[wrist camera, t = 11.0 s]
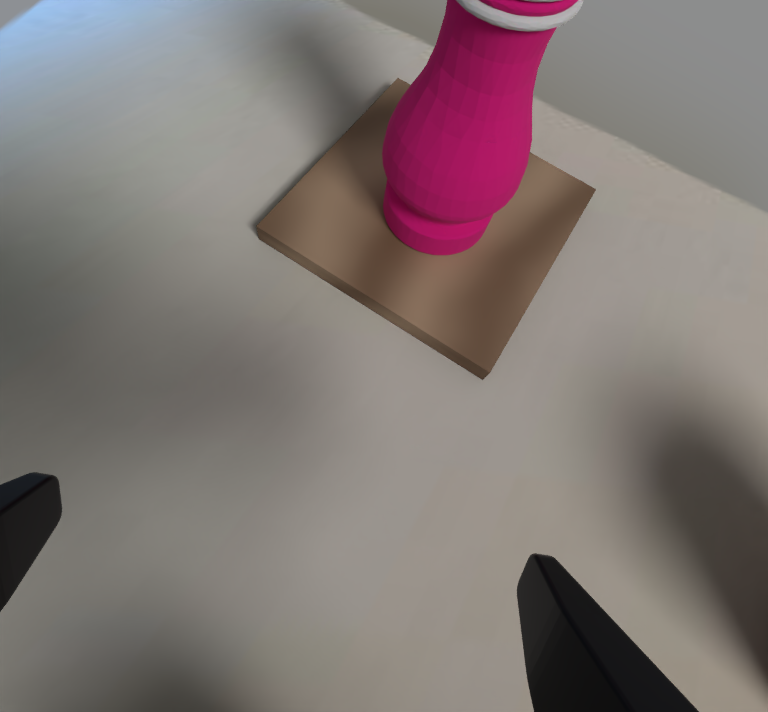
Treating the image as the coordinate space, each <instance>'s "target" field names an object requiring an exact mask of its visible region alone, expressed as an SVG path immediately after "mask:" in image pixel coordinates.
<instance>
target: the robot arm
mask: <svg viewBox="0 0 768 712" xmlns="http://www.w3.org/2000/svg"><path fill="white" fill-rule="evenodd" d="M61 514H62V504H61V495H60V487H59V480H58V479H57V477H56V476H54V475H49V474H43V473H37V472H33V473H29V474H26V475H23V476H21V477H18V478H16V479H13V480H11V481H9V482H6V483H4V484H1V485H0V612H1V610H2V609H3V607H4V606H5V605H6V603H7V602H8V601H9V599H10V598H11V596H12V595H13V593H14V592H15V590H16V589H17V587H18V585H19V584H20V582H21V581H22V579H23V578H24V576H25V574H26V573H27V571H28V570H29V568H30V567H31V565H32V563H33V562H34V560H35V559H36V557H37V556H38V554H39V553H40V551H41V549H42V548H43V546H44V545H45V543H46V542H47V540H48V538H49V537H50V535H51V534H52V532H53V531H54V529H55V527H56V526H57V524H58V522H59V520H60V518H61ZM517 599H518V607H519V616H520V624H521V632H522V641H523V649H524V657H525V666H526V673H527V680H528V685H529V690H530V695H531V699H532V704H533V708H534V712H699V711H698V710H697V709H696V708H695V707H694V706H693V705H692V704H691V703H690V702H689V701H688V699H687V698H686V697H685V696H684V695H683V694H682V693H681V692H680V691H679V690H678V689H677V688H676V687H675V686H674V685H673V683H672V682H671V681H670V680H669V679H668V678H667V677H666V676H665V675H664V674H663V673H662V672H661V671H660V670H659V669H658V667H657V666H656V665H655V664H654V663H653V662H652V661H651V660H650V659H649V658H648V657H647V656H646V655H645V654H644V653H643V651H642V650H641V649H640V648H639V647H638V646H637V645H636V644H635V643H634V642H633V641H632V640H631V639H630V638H629V637H628V635H627V634H626V633H625V632H624V631H623V630H622V629H621V628H620V627H619V626H618V625H617V624H616V623H615V622H614V621H613V619H612V618H611V617H610V616H609V615H608V614H607V613H606V612H605V611H604V610H603V609H602V608H601V607H600V606H599V605H598V604H597V602H596V601H595V600H594V599H593V598H592V597H591V596H590V595H589V594H588V593H587V592H586V591H585V590H584V589H583V588H582V586H581V585H580V584H579V583H578V582H577V581H576V580H575V579H574V578H573V577H572V576H571V575H570V574H569V573H568V572H567V570H566V569H565V568H564V567H563V566H562V565H561V564H560V563H559V562H558V561H557V560H556V559H555V558H554V557H552V556H548V555H542V554H536V553H535V554H532V555H530V557H529V558H528V561H527V563H526V565H525V568H524V570H523V572H522V575H521V577H520V579H519V582H518V586H517Z"/></svg>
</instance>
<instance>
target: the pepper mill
mask: <svg viewBox="0 0 768 712" xmlns="http://www.w3.org/2000/svg"><path fill="white" fill-rule="evenodd" d="M582 3H583V0H447V6H446V12H445V16H444V20H443V23H442V26H441V30H440V33H439V37H438V40H437V43H436V46H435V48H434V50H433V52H432V54H431V56H430V58H429V61H428V63H427V65H426V66H425V68H424V69H423V71H422V72H421V73H420V75H419V76H418V77H417V78H416V79H415V81H414V82H413V83H412V84H411V85H410V87H409V88H408V89H407V91H406V92H405V93H404V95H403V96H402V98H401V99H400V101H399V102H398V104H397V106H396V108H395V110H394V112H393V114H392V116H391V118H390V120H389V123H388V126H387V130H386V134H385V138H384V142H383V149H382V159H383V167H384V171H385V174H386V177H387V183H386V189H385V194H384V201H383V211H384V215H385V218H386V222H387V224H388V226H389V227H390V229H391V230H392V232H393V233H394V234H395V235H396V236H397V237H398V238H399V239H400V240H401V241H402V242H403V243H404V244H406V245H408V246H410V247H411V248H413V249H415V250H417V251H419V252H423V253H426V254H431V255H452V254H457V253H460V252H463V251H465V250H467V249H469V248H470V247H472V246H473V245H474V244H476V243H477V242H478V241H479V239H480V238H481V237H482V235H483V234H484V232H485V230H486V228H487V226H488V224H489V222H490V220H491V218H492V216H493V214H494V213H496V212H497V211H499V210H500V209H501V208H503V207H504V206H505V205H506V204H507V203H508V202H509V201H510V200H511V198H512V197H513V196H514V194H515V193H516V191H517V189H518V187H519V185H520V183H521V180H522V178H523V175H524V173H525V170H526V167H527V165H528V159H529V153H530V147H531V142H532V100H533V89H534V85H535V80H536V75H537V70H538V67H539V64H540V62H541V59H542V56H543V54H544V51H545V49H546V46H547V44H548V42H549V40H550V38H551V37H552V35H553V33H554V31H555V29H556V28H557V27H558V26H561V25H563V24H565V23H566V22H568V21H569V20H571V18H573V17H574V16H575V15H576V14H577V12H578V11H579V9H580V7H581V5H582Z"/></svg>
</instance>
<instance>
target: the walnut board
mask: <svg viewBox="0 0 768 712" xmlns="http://www.w3.org/2000/svg"><path fill="white" fill-rule="evenodd" d="M409 87H410V84H408V83H406V82H404V81H403V80H401V79H399V78H397V79H396V81H395V82H394V83H393V84H392V85H391V86H390V87H389V88H388V89H387V90H386V91H385V92H384V93H383V94H382V95H381V96H380V97H379V98H378V99H377V100H376V101H375V102H374V104H373V105H372V106H371V107H370V108H369V109H368V110H367V111H366V112H365V113H364V114H363V115H362V116H361V117H360V118H359V119H358V120H357V121H356V122H355V123H354V124H353V126H352V127H351V128H350V129H349V130H348V131H347V132H346V133H345V134H344V135H343V136H342V137H341V138H340V139H339V140H338V141H337V142H336V143H335V144H334V145H333V146H332V147H331V149H330V150H329V151H328V152H327V153H326V154H325V155H324V156H323V157H322V158H321V159H320V160H319V161H318V162H317V163H316V164H315V165H314V166H313V167H312V168H311V169H310V170H309V172H308V173H307V174H306V175H305V176H304V177H303V178H302V179H301V180H300V181H299V182H298V183H297V184H296V185H295V186H294V187H293V188H292V189H291V190H290V191H289V192H288V194H287V195H286V196H285V197H284V198H283V199H282V200H281V201H280V202H279V203H278V204H277V205H276V206H275V207H274V208H273V209H272V210H271V211H270V212H269V213H268V214H267V215H266V217H265V218H264V219H263V220H262V221H261V222H260V223H259V224H258V225H257V226H256V227H257V232H258V236H259V239H260V240H261V241H263V242H265V243H266V244H268V245H269V246H271V247H273V248H274V249H276V250H277V251H279V252H280V253H282V254H284V255H285V256H287V257H288V258H290V259H292V260H293V261H295V262H296V263H298V264H300V265H301V266H303V267H304V268H306V269H307V270H309V271H311V272H312V273H314V274H315V275H317V276H319V277H320V278H322V279H323V280H325V281H327V282H328V283H330V284H331V285H333V286H334V287H336V288H338V289H339V290H341V291H342V292H344V293H346V294H347V295H349V296H350V297H352V298H354V299H355V300H357V301H358V302H360V303H362V304H363V305H365V306H366V307H368V308H369V309H371V310H373V311H374V312H376V313H377V314H379V315H381V316H382V317H384V318H385V319H387V320H389V321H390V322H392V323H393V324H395V325H396V326H398V327H400V328H401V329H403V330H404V331H406V332H408V333H409V334H411V335H412V336H414V337H416V338H417V339H419V340H420V341H422V342H423V343H425V344H427V345H428V346H430V347H431V348H433V349H435V350H436V351H438V352H439V353H441V354H443V355H444V356H446V357H447V358H449V359H450V360H452V361H454V362H455V363H457V364H458V365H460V366H462V367H463V368H465V369H466V370H468V371H470V372H471V373H473V374H474V375H476V376H477V377H479V378H481V379H482V380H483V379H484V378H485V377H486V376H487V375H488V374H489V373H490V372H491V370H492V368H493V366H494V365H495V363H496V361H497V360H498V358H499V356H500V354H501V353H502V351H503V349H504V347H505V346H506V344H507V342H508V341H509V339H510V337H511V335H512V334H513V332H514V330H515V328H516V327H517V325H518V323H519V322H520V320H521V318H522V316H523V315H524V313H525V311H526V309H527V308H528V306H529V304H530V303H531V301H532V299H533V297H534V296H535V294H536V292H537V291H538V289H539V287H540V285H541V284H542V282H543V280H544V278H545V277H546V275H547V273H548V272H549V270H550V268H551V266H552V265H553V263H554V261H555V259H556V258H557V256H558V254H559V253H560V251H561V249H562V247H563V246H564V244H565V242H566V240H567V239H568V237H569V235H570V234H571V232H572V230H573V228H574V227H575V225H576V223H577V221H578V220H579V218H580V216H581V215H582V213H583V211H584V209H585V208H586V206H587V204H588V202H589V201H590V199H591V197H592V196H593V194H594V192H595V190H596V189H594V188H592V187H591V186H589V185H587V184H585V183H584V182H582V181H580V180H578V179H576V178H575V177H573V176H571V175H569V174H568V173H566V172H564V171H562V170H561V169H559V168H557V167H555V166H553V165H552V164H550V163H548V162H546V161H545V160H543V159H541V158H539V157H537V156H536V155H534V154H532V153H529V159H528V165H527V167H526V170H525V173H524V175H523V178H522V180H521V183H520V185H519V187H518V189H517V191H516V193H515V194H514V196H513V197H512V198H511V200H510V201H509V202H508V203H507V204H506V205H505V206H504V207H503V208H501V209H500V210H499V211H497V212H496V213H494V214H493V216H492V218H491V220H490V222H489V224H488V226H487V228H486V230H485V232H484V234H483V235H482V237H481V238H480V239H479V241H478V242H477V243H476V244H474V245H473V246H472V247H470V248H469V249H467V250H465V251H463V252H460V253H457V254H452V255H431V254H426V253H423V252H419V251H417V250H415V249H413V248H411V247H410V246H408V245H406V244H404V243H403V242H402V241H401V240H400V239H399V238H398V237H397V236H396V235H395V234H394V233H393V232H392V230H391V229H390V227H389V226H388V224H387V222H386V218H385V215H384V211H383V201H384V194H385V189H386V183H387V177H386V174H385V171H384V167H383V159H382V149H383V142H384V138H385V134H386V130H387V126H388V123H389V120H390V118H391V116H392V114H393V112H394V110H395V108H396V106H397V104H398V102H399V101H400V99H401V98H402V96H403V95H404V93H405V92H406V91H407V89H408V88H409Z"/></svg>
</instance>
